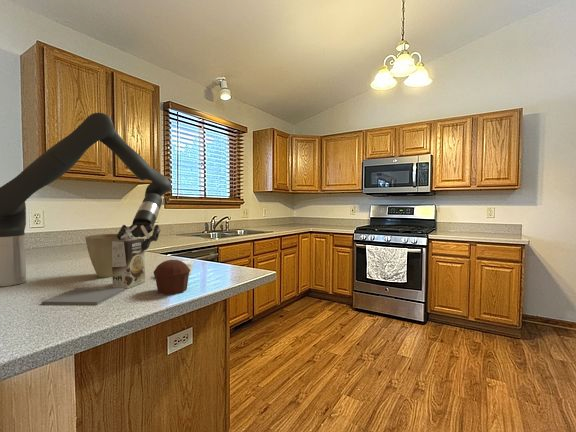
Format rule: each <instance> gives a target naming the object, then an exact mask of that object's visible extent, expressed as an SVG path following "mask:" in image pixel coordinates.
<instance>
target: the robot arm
mask: <svg viewBox="0 0 576 432" xmlns="http://www.w3.org/2000/svg"><path fill="white" fill-rule="evenodd" d="M98 142H101V143H102V144H103V145H104V146H106V147H107V148H108V149H109V150H110V151H111V152H112V153H114V154H115V155H116V156H117V158H119V160H120V161H121V162H122V163H123V164H124V166H126V167H127V168H128V169H129V171H130V172H132V174H134V176H135V177H136V178H137V179H138V180H140V181H145V180H148V181H151V182H150V183H148V185H147V187H146V188H145V193H144V198H143V200H142V203H141V205H139V207H138V209H137V211H136V214H135V215H134V218H133V219H132V224H131V225H130V226H126V224H123V225H122V226H121V227H120V229H119V230H118V233H116V234H117V238H118V239H119V240H123V239H125V238H126V237H127V236H128V237H127V238H126V239H135V238H144V237H145V238H144V244H143V246H142V248H143V250H145V251H147V250H148V249H149V248H150V245H151V243H152V242H157V241H158V239H159V236H160V233H161V228H160V226H159V224H155V223H156V221H157V219H158V216H159V212H160V210H161V207H162V204H163V198H162V197H163V196H164V195H165V194H166V193H169V191H170V190H171V188H172V183H171V182H170V180H169V179H168V178H167V176H166V175H163V174H162V173H160V172H159V171H157V170H156V169H154V168H153V167H151V165H150V164H149V163H148V162H147V161H146V160H145V159H144V158H143V157H142V156H141V155H140V154H139V153H138V152H137V151H135V149H133V148H132V147H131V146H130V145H128V144H127V142H126V141H125V140H124V139H123V138H122V137H121V136H120V135H119V133H118V131H117V130H116V128H115V126H114V122H113V120H112V118H111V117H110V116H109V115H108V114H106V113H103V112H94V113H91V114H89V115H88V116H87V117H86V118H85V119H84V120H83V121H82V122H81V123H80V124H79V125H78V126H77V127H76V128H75V129H74V130H73V131H72V132H71V133H70V134H68V135H66V136H65V137H64V138H62V139H61V140H58V142H56V143H55V144H53V145H52V146H51V147H49V148H48V149H47V150H46V151H44V152H43V153H42V154H40V155H39V156H38V157H36V159H34V160H33V161H32V162H31V163H30V164H29V165H27V166H26V167H25V168H24V169H23V170H22V171H21V172H20V173H18V175H17V176H15V177H14V178H12V179H11V180H9V181H8V182H6V183H5V184H3V185H2V186H0V287H10V286H16V285H20V284H24V283H26V282H27V263H26V260H27V259H26V238H25V237H26V236H25V230H26V225H27V208H26V207H27V206H26V201H27V200H28V199H29V198H30V197H31V196H32V195H34V194H35V193H36V192H37V191H40V190H41V189H43V188H45V187H47V186H48V185H49V184H51V183H54V182H55V181H57V180H58V179H59V178H60V177H62V176H63V175H64V174H66V173H67V172H68V171H70V169H72V168H73V167H74V166H75V165H76V164H77V163H78V161H79V160H80V159H81V158H82V157H83V155H84V154H85V153H86V152H87V150H89V149H90V148H91V147H92V146H93V145H94V144H96V143H98ZM151 232H152V235H150V233H151Z"/></svg>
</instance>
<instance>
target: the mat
mask: <svg viewBox="0 0 576 432" xmlns="http://www.w3.org/2000/svg"><path fill="white" fill-rule="evenodd" d="M123 292H125V288H113V287H76V288H72V289H70V290H67V291H65V292H63V293H60V294H58V295H55V296H52V297H51V298H47V299H45V300H42V301H41V302H40V303H41V305H52V306H53V305H55V306H58V305H60V306H62V305H63V306H64V305H67V306H68V305H69V306H70V305H72V306H73V305H74V306H75V305H76V306H77V305H80V306H81V305H82V306H87V305H88V306H89V305H90V306H91V305H92V306H95V305H97V306H98V305H99V304H101V303H103V302H105V301H107V300H109V299H111V298H113V297H115V296H116V295H117V296H118V295H119V294H120V293H123Z"/></svg>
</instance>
